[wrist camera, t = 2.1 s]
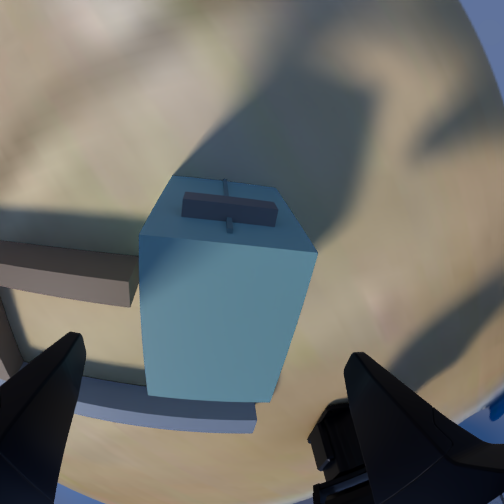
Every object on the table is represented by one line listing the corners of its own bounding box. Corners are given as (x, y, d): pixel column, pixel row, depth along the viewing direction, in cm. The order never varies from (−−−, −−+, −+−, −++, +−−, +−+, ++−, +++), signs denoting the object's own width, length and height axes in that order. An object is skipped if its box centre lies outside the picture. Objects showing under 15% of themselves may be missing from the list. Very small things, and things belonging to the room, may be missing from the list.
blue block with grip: (277, 175, 15) (323, 233, 9) (252, 304, 18) (269, 402, 12) (173, 163, 14) (139, 213, 8) (165, 297, 17) (147, 395, 11)
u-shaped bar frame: (286, 270, 17) (296, 296, 15) (249, 408, 23) (252, 433, 21) (-33, 236, 14) (-54, 253, 11) (13, 371, 19) (3, 392, 17)
